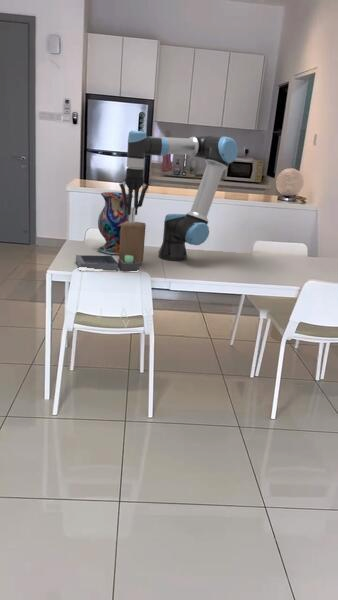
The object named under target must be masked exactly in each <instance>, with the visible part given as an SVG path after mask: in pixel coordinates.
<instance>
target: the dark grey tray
mask: <svg viewBox="0 0 338 600" xmlns="http://www.w3.org/2000/svg"><path fill="white" fill-rule="evenodd" d="M75 264H76V266H77V268H79V267H87V268H94V269H103V270H116V271H115V272H118V271H119V268H118V262H117V260H116V259H115V258H114V256H113V255H100V254H99V255H89V254H88V255H84V254H83V255H80V254H76V255H75Z"/></svg>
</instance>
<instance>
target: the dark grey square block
mask: <svg viewBox="0 0 338 600" xmlns="http://www.w3.org/2000/svg"><path fill="white" fill-rule="evenodd" d="M117 261H118V262H117V263H118V270H119V271H120V272H121V271H137V270H139V271H140V265H139V263H138V262H137V261H136V260H135V259H133V263H125V262H124V261H125V259H119V258H118V259H117Z"/></svg>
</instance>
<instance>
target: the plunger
mask: <svg viewBox="0 0 338 600" xmlns="http://www.w3.org/2000/svg"><path fill="white" fill-rule="evenodd" d="M133 257H134V256H132V255H125V261H124V262H125V263H133Z"/></svg>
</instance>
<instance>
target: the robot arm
mask: <svg viewBox="0 0 338 600" xmlns="http://www.w3.org/2000/svg"><path fill="white" fill-rule="evenodd" d="M238 148H239V147H238V146H237V142H236V141H235V140H234V139H233V138H232V137H229V136H226V135H224V136H222V135H221V136H219V135H218V136H217V135H202V136H190V137H189V138H188V137H187V138H185V137H169V136H166V137H165V136H147V133H146V131H141V130H139V131H138V130H130V131H129V132H128V137H127V151H126V152H127V154H126V167H127V168H126V170H125V171H126V172H125V179H124V181H123V182H120V183H119V187H120V191H121V193H122V198H123V204H124V205H125V206H127V214H128V215H129V222H130V223H132V222H133V223H134V222H136V221H135V220H136V218H135V217H136V216H137V215H138V208H141V207H142V206H143V203H144V200H145V196H146V192H147V190H148V189H149V185H148V184H146V183H145V182H144V168H145V157H146V155H147V156H158V157H163V156H164V157H165V156H167V155H188V156H189V157H190V158H191V157H193V158H200V159H203V160H205V161H204V162H205V164H206V166H205V168H204V169H205V170H204V172H203V174H202V177H201V180H200V183H199V187H198V188H197V192H196V195H195V198H194V200H193V204H192V206H191V209H190V211H189V212H186V213H167V214H166V215H165V216H164V217H165V218H164V221H163V222H164V224H163V235H162V237H163V238H162V239H163V240H162V243H161V246H160V248H159V250H158V258H160V259H163V260H166V261H171V262H172V261H173V262H174V261H175V262H180V261H185V260H187V258H188V252H187V249H186V244H188V245H191V246H192V245H194V246H200V245H201V244H203V243H205V242H206V241H207V239H208V237H209V235H210V229H209V225H208V224H209V220H208V215H209V213H210V210H211V209H210V208H211V207H212V204H213V201H214V197H215V195H216V192H217V190H218V187H219V184H220V181H221V178H222V176H223V173H224V171H225V170H227V169H228V168H229V165H230V164H232V163H233V162H234V161H236V159H237V157H238V153H239V149H238ZM126 187H127V188H128V189H127V191H128V193H126V192H127V191H126ZM140 189H142V190H141V192H140ZM133 192H134V194H133ZM139 192H140V193H139ZM126 194H128V203H127V199H126ZM132 195H133V198H132ZM139 195H140V196H139ZM132 202H133V203H132ZM132 204H133V207H132Z"/></svg>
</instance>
